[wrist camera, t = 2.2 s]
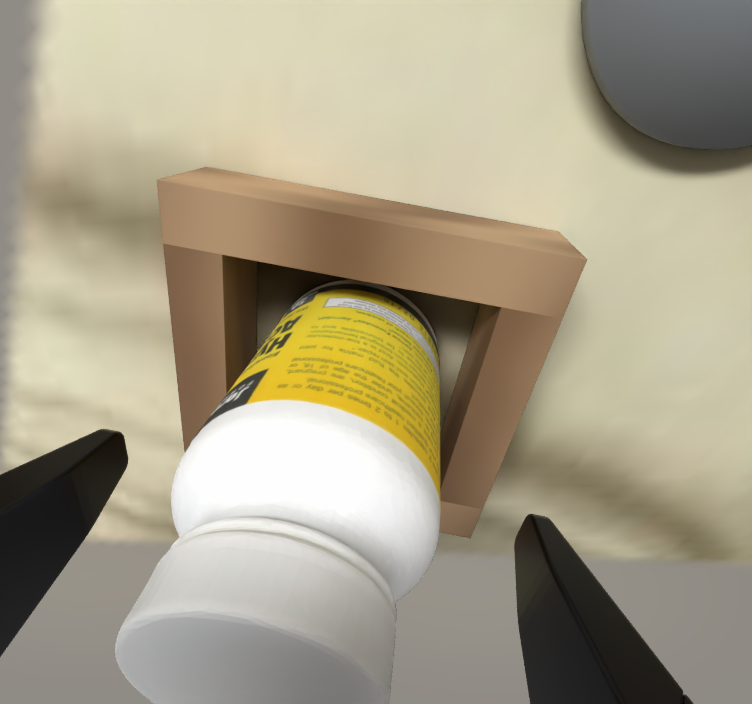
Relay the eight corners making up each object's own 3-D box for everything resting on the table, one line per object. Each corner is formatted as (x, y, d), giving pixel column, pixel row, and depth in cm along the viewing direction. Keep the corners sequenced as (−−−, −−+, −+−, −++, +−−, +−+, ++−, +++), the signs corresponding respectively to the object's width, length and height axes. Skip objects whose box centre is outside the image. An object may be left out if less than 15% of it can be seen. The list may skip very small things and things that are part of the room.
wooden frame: (558, 231, 12) (587, 259, 10) (465, 482, 17) (470, 538, 15) (205, 167, 12) (156, 179, 10) (218, 434, 17) (187, 481, 15)
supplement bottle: (305, 246, 13) (60, 514, 4) (468, 315, 13) (530, 672, 5) (263, 381, 16) (60, 708, 7) (399, 434, 16) (363, 798, 8)
